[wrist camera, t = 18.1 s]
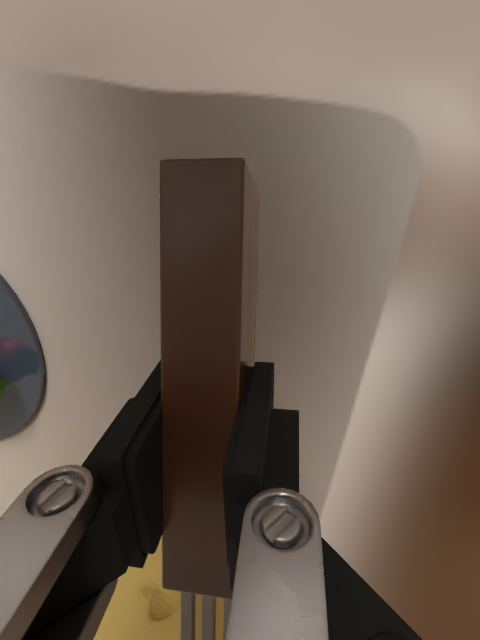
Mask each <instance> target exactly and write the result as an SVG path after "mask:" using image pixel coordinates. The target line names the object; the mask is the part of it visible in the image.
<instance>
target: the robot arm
mask: <svg viewBox="0 0 480 640" xmlns="http://www.w3.org/2000/svg"><path fill="white" fill-rule="evenodd" d="M273 400H274V363H269V362H255V365H254V367H253V366H250V368H249V372H248V376H247V380H246V385H245V389H244V393H243V397H242V402H241V406H240V410H239V413H238V414H236V415H235V419H234V423H233V427H232V431H231V435H230V439H229V443H228V447H227V451H226V455H225V460H224V465H223V477H222V481H223V499H224V515H225V532H226V549H227V564H228V565H229V571H230V589H231V590H232V592H233V593H232V600H231V607H230V614H229V621H228V628H227V635H226V640H422V639H421V638H420V637H419V636H418V635H417V634H416V633H415V632H414V631H413V630H412V629H411V628H410V627H409V626H408V625H407V624H406V623H405V621H404V620H403V619H401V617H400V616H399V615H398V614H397V613H396V612H395V611H393V609H392V608H391V607H390V606H389V605H388V604H387V603H386V602H385V601H384V600H383V599H382V598H381V597H380V596H379V595H378V594H377V593H376V592H375V591H374V590H373V589H372V588H371V587H370V586H369V585H368V584H367V583H366V582H365V581H364V580H363V579H362V578H361V577H360V576H359V575H358V574H357V573H356V572H355V571H354V570H353V569H352V568H351V567H350V566H349V565H348V564H347V563H346V561H344V560H343V558H342V557H341V556H340V555H339V554H338V553H337V552H336V551H335V550H334V549H333V548H332V547H331V546H330V545H329V544H328V543H327V542H326V541H325V540H324V539H323V538H322V537H321V529H320V528H321V527H320V521H319V517H318V513H317V511H316V510H315V508H314V506H313V505H312V503H311V502H310V501H309V500H307V499H306V498H305V497H304V496H303V495H301V494H299V411H298V410H285V409H273ZM162 534H163V456H162V408H161V360H160V362H159V363H158V364H157V366H156V367H155V369H154V370H153V372H152V373H151V375H150V376H149V377H148V379H147V380H146V382H145V383H144V385H143V386H142V388H141V389H140V390H139V392H138V393H137V395H136V396H135V398H131V399H129V400H128V401H127V402H126V404H125V405H124V407H123V408H122V409H121V411H120V412H119V414H118V415H117V416H116V418H115V419H114V421H113V422H112V423H111V425H110V426H109V428H108V429H107V430H106V432H105V433H104V435H103V436H102V437H101V439H100V440H99V442H98V443H97V444H96V446H95V447H94V449H93V450H92V452H91V453H90V454H89V456H88V457H87V459H86V460H85V461H84V463H83V464H82V466H78V465H65V466H61V467H57V468H54V469H52V470H50V471H47V472H45V473H43V474H42V475H40V476H39V477H37V478H36V479H34V480H33V481H32V482H31V483H30V484H29V485H28V486H27V487H26V488H25V489H24V490H23V492H22V493H21V494H20V495H19V496H18V497H17V499H16V500H15V501H14V502H13V503H12V505H11V506H10V507H9V508H8V509H7V510H6V512H5V513H4V514H3V515H2V516H1V518H0V640H93V639H94V637H95V635H96V632H97V630H98V628H99V626H100V623H101V621H102V619H103V616H104V614H105V612H106V610H107V607H108V605H109V603H110V600H111V598H112V596H113V594H114V591H115V588H116V585H117V582H118V578H119V577H120V576H122V575H123V574H125V573H126V571H127V569H128V566H129V567H136V568H142V569H143V566H144V564H145V561H146V559H147V556H148V554H154V553H155V552H156V550H157V547H158V545H159V542H160V539H161V536H162Z"/></svg>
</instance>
